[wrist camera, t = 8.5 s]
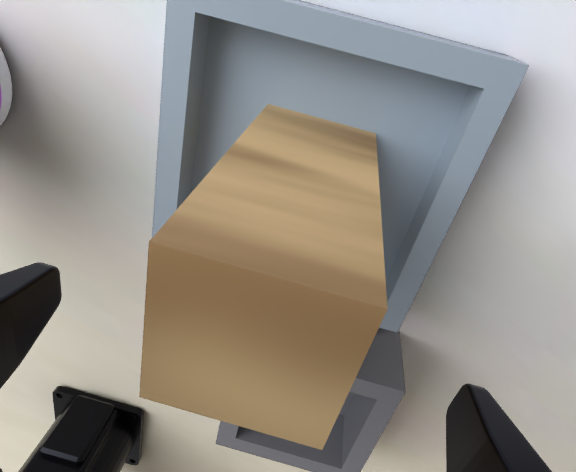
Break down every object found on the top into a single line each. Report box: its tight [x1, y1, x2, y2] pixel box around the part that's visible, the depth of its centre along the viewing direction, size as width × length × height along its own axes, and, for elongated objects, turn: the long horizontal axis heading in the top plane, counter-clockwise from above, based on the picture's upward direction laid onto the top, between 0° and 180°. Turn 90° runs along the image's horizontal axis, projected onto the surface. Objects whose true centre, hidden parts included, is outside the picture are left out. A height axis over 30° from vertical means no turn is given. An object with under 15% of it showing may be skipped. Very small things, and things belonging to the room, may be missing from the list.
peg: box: [139, 104, 387, 450], centre depth 14 cm, size 4×4×11 cm
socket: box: [216, 328, 405, 472], centre depth 23 cm, size 8×8×4 cm
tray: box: [152, 0, 529, 332], centre depth 18 cm, size 12×12×2 cm
